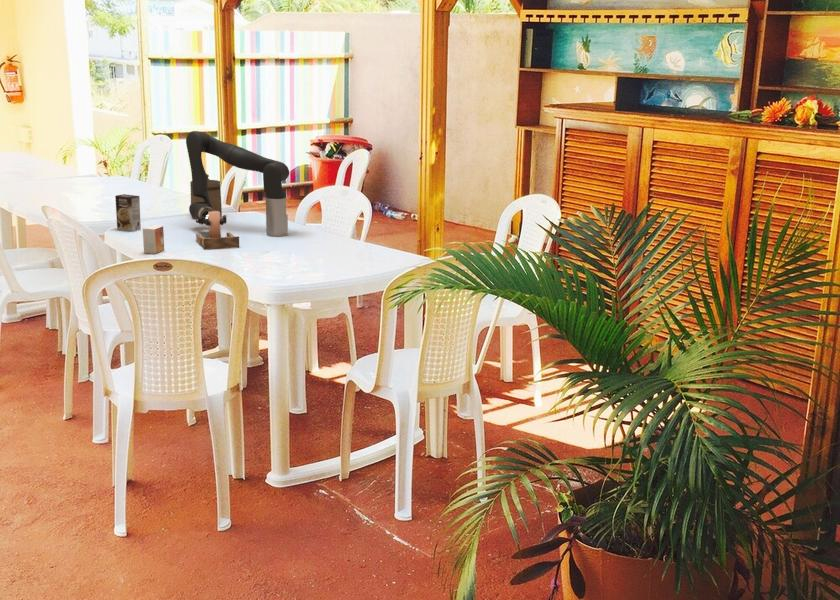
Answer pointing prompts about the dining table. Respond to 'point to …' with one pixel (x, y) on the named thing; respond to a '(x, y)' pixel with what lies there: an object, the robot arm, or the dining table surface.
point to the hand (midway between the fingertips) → (215, 223)
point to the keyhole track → (218, 242)
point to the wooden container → (210, 195)
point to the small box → (153, 239)
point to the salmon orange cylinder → (214, 224)
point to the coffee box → (128, 212)
